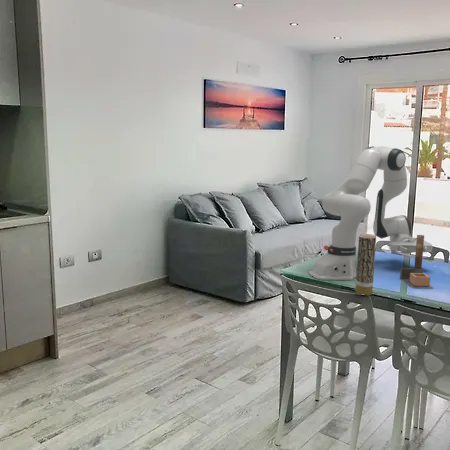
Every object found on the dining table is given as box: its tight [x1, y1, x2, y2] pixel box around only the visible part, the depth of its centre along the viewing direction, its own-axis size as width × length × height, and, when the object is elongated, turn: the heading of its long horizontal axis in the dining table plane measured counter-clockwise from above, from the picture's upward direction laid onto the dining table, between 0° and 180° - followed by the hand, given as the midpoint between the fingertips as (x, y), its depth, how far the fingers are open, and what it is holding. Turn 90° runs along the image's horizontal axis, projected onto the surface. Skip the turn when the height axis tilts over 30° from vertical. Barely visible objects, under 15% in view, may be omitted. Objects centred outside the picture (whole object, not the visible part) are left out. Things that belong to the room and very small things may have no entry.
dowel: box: [413, 234, 425, 268], centre depth 239 cm, size 3×3×20 cm
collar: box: [409, 272, 431, 286], centre depth 225 cm, size 7×7×4 cm
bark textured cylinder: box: [355, 233, 377, 297], centre depth 209 cm, size 7×7×25 cm
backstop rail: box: [399, 267, 434, 290], centre depth 229 cm, size 16×10×5 cm, turn 179°
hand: (415, 250), depth 243 cm, fingers open, 8 cm apart
